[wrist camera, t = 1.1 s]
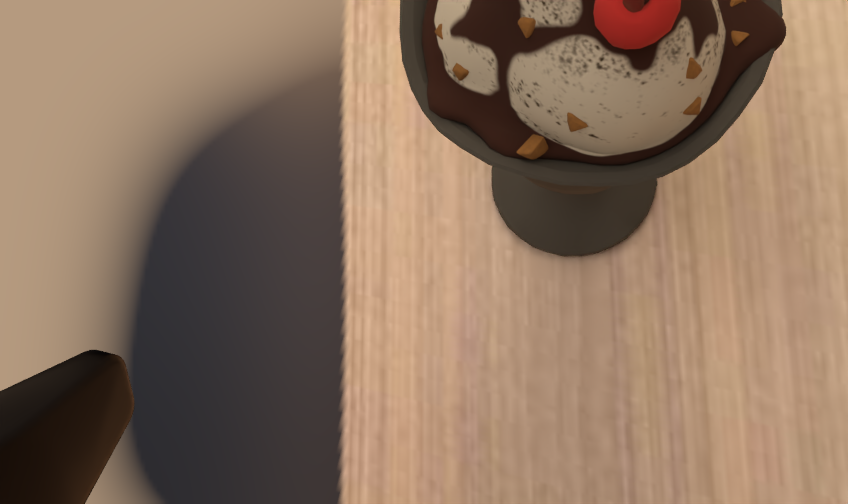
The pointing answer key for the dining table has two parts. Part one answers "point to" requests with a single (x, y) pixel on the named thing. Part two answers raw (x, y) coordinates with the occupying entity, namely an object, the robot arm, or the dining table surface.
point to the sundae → (585, 99)
